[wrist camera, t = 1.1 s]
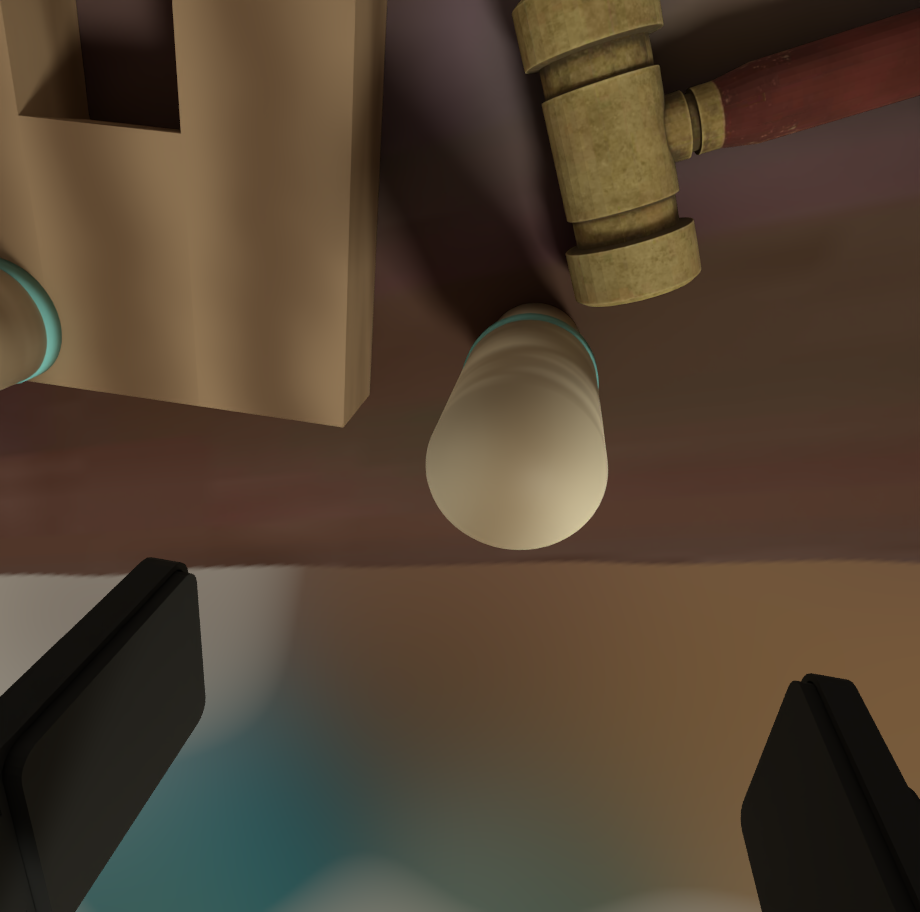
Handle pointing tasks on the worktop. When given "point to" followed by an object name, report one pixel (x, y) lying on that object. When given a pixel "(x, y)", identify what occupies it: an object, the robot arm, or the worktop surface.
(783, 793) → the robot arm
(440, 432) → the peg
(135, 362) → the board
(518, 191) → the worktop surface
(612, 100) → the gavel
